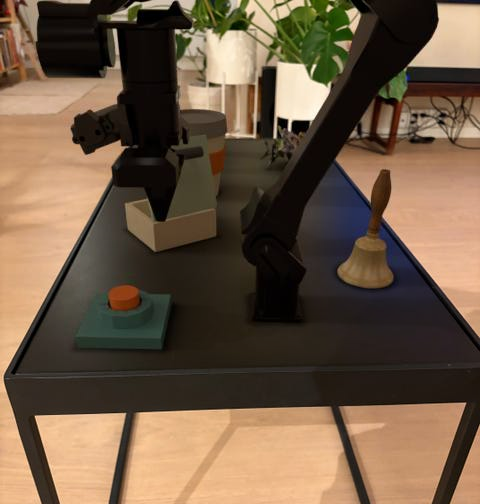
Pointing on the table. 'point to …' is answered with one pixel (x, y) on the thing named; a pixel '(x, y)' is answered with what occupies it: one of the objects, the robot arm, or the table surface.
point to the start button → (124, 298)
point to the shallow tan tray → (169, 226)
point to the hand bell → (371, 244)
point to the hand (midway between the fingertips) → (161, 220)
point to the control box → (125, 323)
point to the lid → (193, 180)
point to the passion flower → (283, 145)
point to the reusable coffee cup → (209, 136)
